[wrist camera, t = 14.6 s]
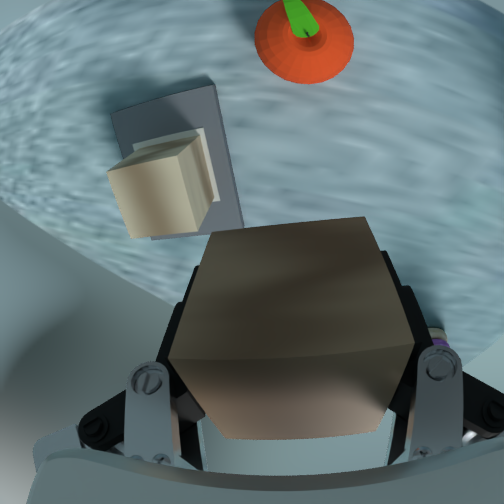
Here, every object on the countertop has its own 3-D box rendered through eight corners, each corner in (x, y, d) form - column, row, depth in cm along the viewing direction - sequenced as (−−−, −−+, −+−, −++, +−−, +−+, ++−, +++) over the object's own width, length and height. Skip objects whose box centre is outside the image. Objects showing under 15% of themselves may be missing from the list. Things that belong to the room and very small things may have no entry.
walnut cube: (364, 216, 9) (414, 342, 5) (357, 321, 12) (375, 431, 8) (211, 232, 10) (167, 358, 6) (241, 330, 13) (225, 438, 9)
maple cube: (200, 135, 24) (176, 155, 19) (214, 197, 27) (197, 231, 22) (139, 148, 25) (106, 171, 20) (156, 205, 28) (131, 238, 23)
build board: (215, 84, 22) (212, 85, 21) (244, 225, 30) (242, 231, 29) (115, 112, 24) (109, 114, 23) (155, 235, 32) (151, 240, 31)
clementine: (239, 12, 18) (222, -7, 12) (319, -13, 16) (331, -39, 10) (278, 93, 22) (275, 102, 16) (355, 69, 20) (381, 71, 14)
